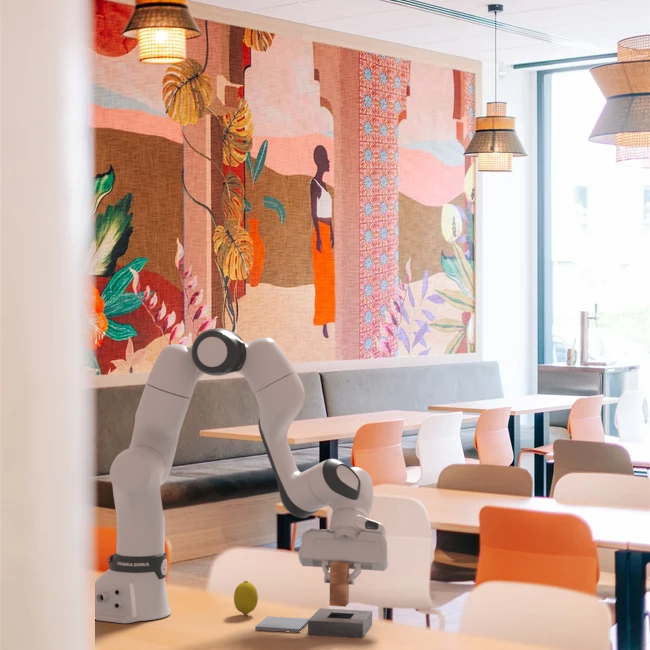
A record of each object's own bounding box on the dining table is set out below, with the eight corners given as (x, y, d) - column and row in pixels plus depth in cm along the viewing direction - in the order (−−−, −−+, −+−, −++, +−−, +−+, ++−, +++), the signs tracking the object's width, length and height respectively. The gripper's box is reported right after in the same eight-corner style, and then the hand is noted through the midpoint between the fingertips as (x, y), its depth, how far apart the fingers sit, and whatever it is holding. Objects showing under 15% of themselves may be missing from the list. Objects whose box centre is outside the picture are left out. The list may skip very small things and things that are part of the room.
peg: (329, 605, 232) (330, 564, 232) (332, 602, 235) (333, 561, 236) (345, 606, 231) (346, 565, 231) (348, 603, 235) (349, 562, 235)
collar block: (307, 634, 228) (307, 620, 228) (319, 621, 240) (319, 608, 240) (362, 637, 226) (362, 623, 226) (372, 624, 238) (372, 611, 238)
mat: (255, 630, 232) (255, 626, 232) (267, 619, 242) (267, 616, 242) (299, 632, 230) (299, 629, 230) (310, 622, 239) (310, 618, 240)
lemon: (254, 618, 242) (254, 583, 243) (230, 617, 244) (231, 582, 244) (260, 613, 248) (260, 578, 248) (237, 612, 249) (237, 577, 249)
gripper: (301, 520, 243) (290, 571, 233) (390, 524, 239) (383, 576, 229) (305, 536, 247) (294, 587, 237) (392, 541, 243) (385, 593, 233)
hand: (338, 582), depth 233 cm, fingers closed on peg, 4 cm apart
